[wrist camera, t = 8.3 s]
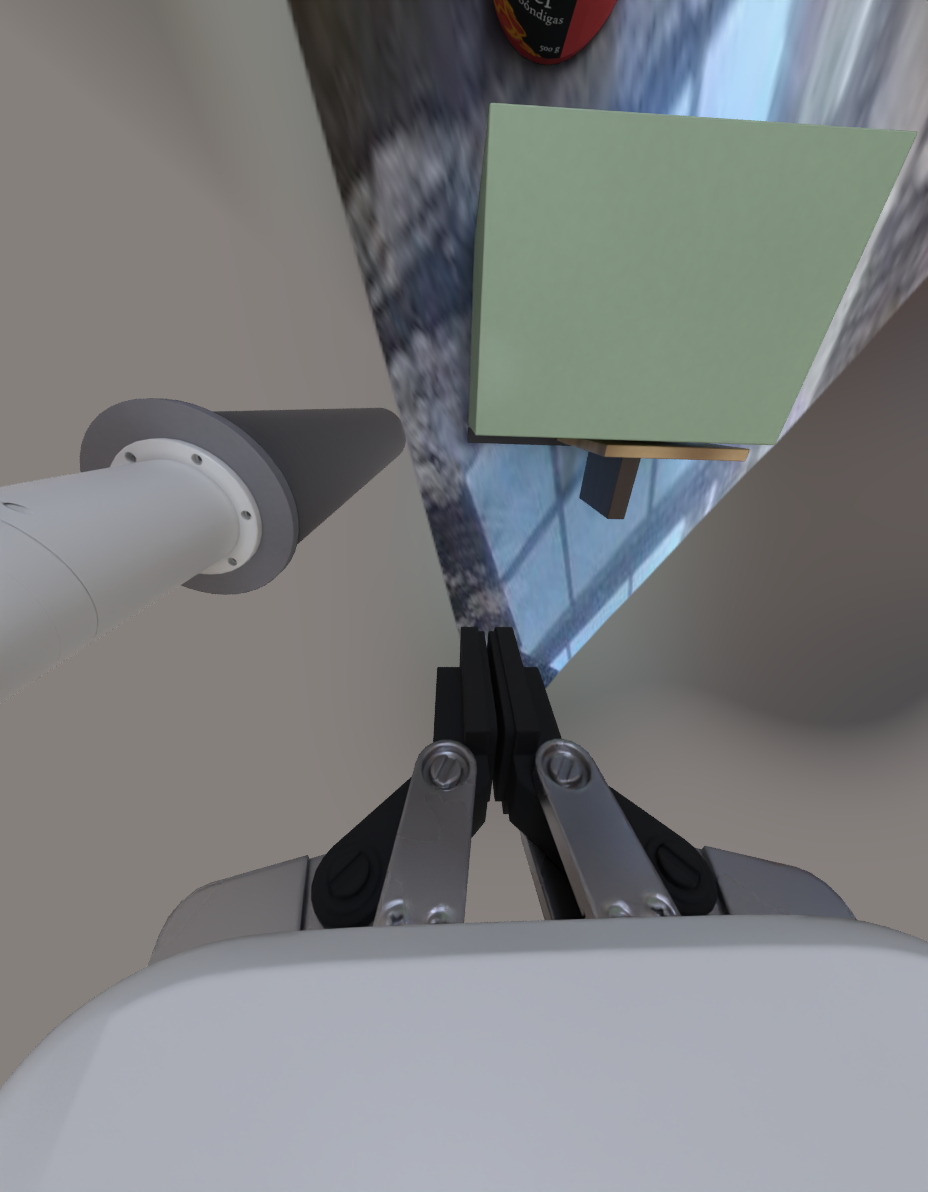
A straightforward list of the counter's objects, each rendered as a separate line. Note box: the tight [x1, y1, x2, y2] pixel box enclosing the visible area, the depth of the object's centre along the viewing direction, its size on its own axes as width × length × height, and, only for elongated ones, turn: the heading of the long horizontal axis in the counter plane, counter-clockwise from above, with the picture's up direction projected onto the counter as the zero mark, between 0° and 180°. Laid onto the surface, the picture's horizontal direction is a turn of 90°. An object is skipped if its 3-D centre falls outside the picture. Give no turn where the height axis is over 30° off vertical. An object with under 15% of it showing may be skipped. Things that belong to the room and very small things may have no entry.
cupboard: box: [468, 103, 917, 446], centre depth 22 cm, size 18×13×12 cm
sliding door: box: [557, 438, 750, 519], centre depth 26 cm, size 9×5×11 cm, turn 88°
